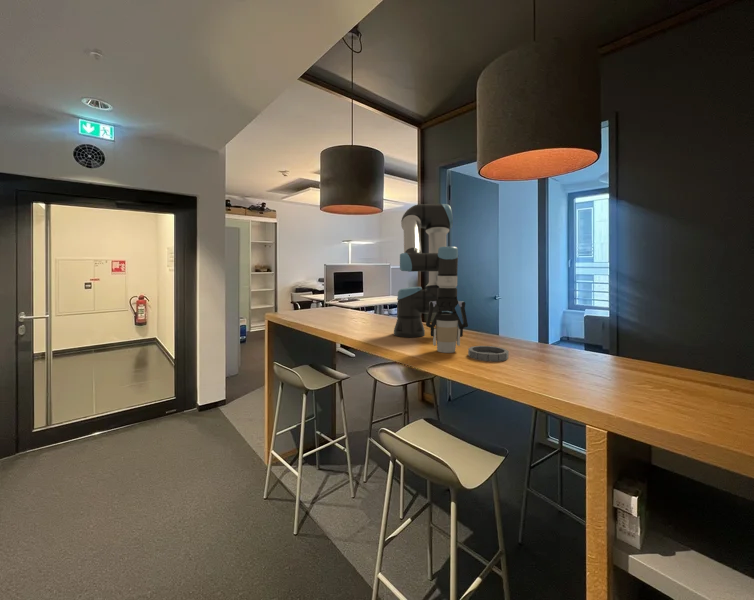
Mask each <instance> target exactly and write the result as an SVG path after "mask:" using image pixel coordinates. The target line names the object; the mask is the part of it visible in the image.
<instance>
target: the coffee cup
mask: <svg viewBox="0 0 754 600" xmlns="http://www.w3.org/2000/svg"><path fill="white" fill-rule="evenodd" d="M458 317H459V316H458ZM458 317H456V314H454V315H453V313H452V312H442V313H441V314H439V315H438V317H436V321H437V323H436V325H435V328H436V348H437V349H436V351H437V352H439V353H443V354H450V353H453V354H454V353H455V352H456V346H457V331H458V328H459V326H458Z"/></svg>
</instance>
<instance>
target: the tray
mask: <svg viewBox="0 0 754 600" xmlns="http://www.w3.org/2000/svg"><path fill="white" fill-rule="evenodd" d="M467 349H468V351H467V353H468V357H469V358H470V359H474V360H476V361H483V362H503V361H507V360H508V359H509V350H507V349H506V348H503V347H500V346H499V347H498V346H493V345H491V346H490V345H475V346H473V345H472V346H470V347H468V348H467Z"/></svg>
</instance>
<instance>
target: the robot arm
mask: <svg viewBox="0 0 754 600" xmlns="http://www.w3.org/2000/svg"><path fill="white" fill-rule="evenodd" d="M453 221H454V218H453V211H452V208H451V205H449V204H447V203H424V204H423V203H418V204H414V205H413V206H411V207H409V208H408V209H407V210H406V211H405V212H404V213H403V215H402V217H401V221H400V223H401V228H402V230H403V253H400V254H399V270H400V271H402V272H408V273H409V272H412V273H413V272H428V283H427V285H425V289H423V288H422V286H411V287H405V288H401V289H399V290H398V291H397V297H396V298H397V299H396V300H397V317H396V318H397V320H396V323H395V325H394V328H393V335H394V336H396V337H399V338H420V337H425V334H426V333H425V332H426V331H425V330H426V329H425V327H424V324H423V321H422V314H427V318H426V321H425V326H426V327H428V328H430V331H429V333H430V334H429V335H430V337H432V343H433V344H432V346H437V340H436V323H437V321H436V317H438V315H439V314H441V313H442V312H449V313H453V315H454V314H456V317H458V331H457V341H456V346H458V347H459V346H460V347H461V338H463V337H464V329H465V328H468V326H469V325H468V319H467V313H466V309H465V308H466V302H465V301H463V300H462V301H461V300H460V301H459V300H458V288H457V286H458V267H459V265H458V264H459V249H458V247H457V246H447V234H448V233H450V229H452V228H453V225H454V224H453V223H454V222H453ZM420 229H425V233H426V234H427V235H428V252H422V241H421V239H422V238H421V231H420ZM457 306H459V308H460V313H461V318H462V321H461V320H460V317H459V315H458V313H457V310H456V308H457ZM433 314H434V315H435V316H434V318H433V320H432V316H433ZM431 321H432V322H431Z"/></svg>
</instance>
